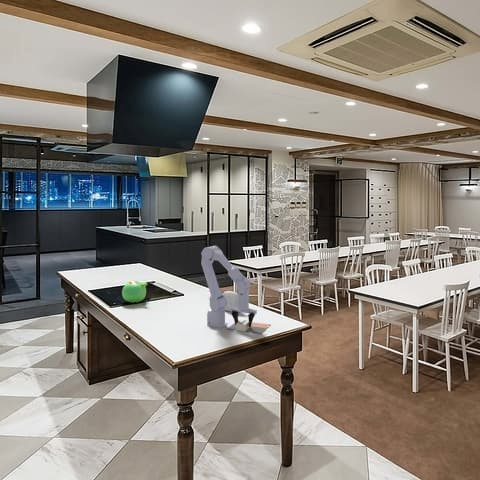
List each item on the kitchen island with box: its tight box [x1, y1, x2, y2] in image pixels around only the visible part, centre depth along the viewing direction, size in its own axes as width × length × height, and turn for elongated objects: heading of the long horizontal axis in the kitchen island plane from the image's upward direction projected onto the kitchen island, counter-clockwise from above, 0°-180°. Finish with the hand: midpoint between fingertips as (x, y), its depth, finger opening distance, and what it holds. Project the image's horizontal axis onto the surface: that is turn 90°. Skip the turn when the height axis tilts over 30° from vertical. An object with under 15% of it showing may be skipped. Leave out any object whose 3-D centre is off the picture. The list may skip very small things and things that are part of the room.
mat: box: [226, 320, 272, 335], centre depth 218 cm, size 20×17×1 cm
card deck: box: [236, 319, 250, 332], centre depth 215 cm, size 5×8×4 cm, turn 159°
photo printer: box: [223, 290, 238, 312], centre depth 250 cm, size 10×4×12 cm, turn 61°
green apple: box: [121, 280, 148, 304], centre depth 270 cm, size 18×17×15 cm
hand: (243, 325), depth 215 cm, fingers open, 7 cm apart
